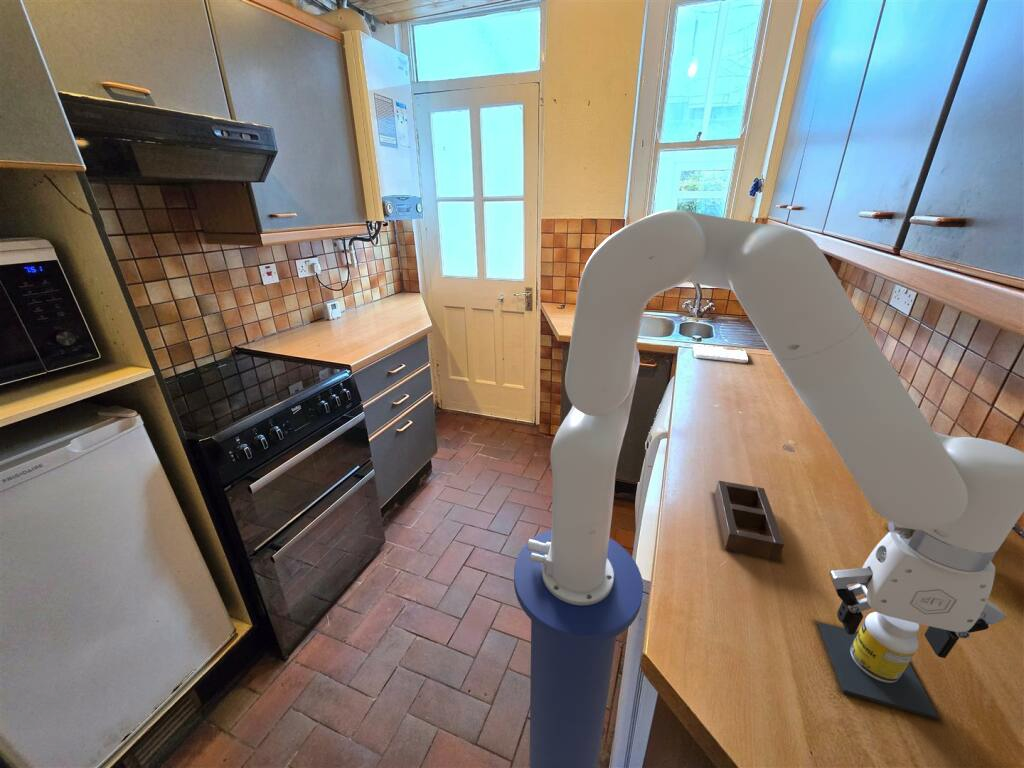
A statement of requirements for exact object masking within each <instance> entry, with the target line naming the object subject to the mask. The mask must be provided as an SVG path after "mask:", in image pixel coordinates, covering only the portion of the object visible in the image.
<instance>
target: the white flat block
mask: <svg viewBox="0 0 1024 768" xmlns="http://www.w3.org/2000/svg"><path fill="white" fill-rule="evenodd" d="M699 345H700V346H701V347H700V346H699ZM698 346H699V347H698ZM709 346H710V347H709ZM713 346H714V345H705V346H704V344H693V356H694V358H697V359H704V360H705V359H706V360H714V361H723V362H734V363H742V364H743V363H744V364H746V363H748V362H749V357H748V354H747V352H746V350H745V349H743V350H744V351H741V350H727V349H724V348H726V347H724V348H723V346H715V347H713Z"/></svg>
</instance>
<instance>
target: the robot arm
mask: <svg viewBox="0 0 1024 768" xmlns="http://www.w3.org/2000/svg"><path fill="white" fill-rule="evenodd" d="M686 282H688V283H693V284H698V285H703V286H707V287H713V288H716V289H717V288H718V289H724V290H729V291H732V292H733V294H734V296H735V298H736V300H737V301H738V302H739V304H740V306H741V307H742V309H743V310H744V312H745V314H746V316H747V317H748V319H749V320H750V322H751V323H752V325H753V327H754V328H755V330H756V331H757V333H758V334H759V335H760V337H761V339H762V341H763V342H764V344H765V345H766V347H767V349H768V350H769V352H770V353H771V355H772V357H773V358H774V360H775V362H776V363H777V365H778V366H779V368H780V369H781V371H782V373H783V375H784V376H785V378H786V379H787V381H788V382H789V385H790V386H791V387H792V389H793V391H794V393H795V394H796V395H797V397H798V398H799V400H800V401H801V403H802V404H803V405H804V406H805V407H806V409H807V410H808V412H809V413H810V414H811V415H812V417H813V418H814V420H816V422H817V424H818V425H819V427H820V428H821V429H822V430H823V432H824V434H825V435H826V436H827V438H828V440H829V441H830V443H831V445H832V447H833V448H834V450H835V451H836V453H837V454H838V456H839V457H840V459H841V461H842V462H843V464H844V465H845V467H846V469H847V470H848V472H849V473H850V475H851V476H852V478H853V479H854V482H855V484H857V486H858V488H859V489H860V491H861V493H862V494H863V496H864V498H865V499H866V501H867V502H868V504H869V506H870V507H871V509H873V511H874V512H875V513H876V514H877V515H878V516H880V517H881V518H882V519H884V520H886V521H888V522H887V530H888V532H887V533H886V535H884V537H882V539H881V540H880V541H879V542H878V543H877V544H876V545H875V547H874V548H873V550H872V551H871V552H870V554H869V555H868V557H867V559H866V560H865V562H864V563H863V565H862V567H859V568H847V569H838V570H831V571H829V577H830V579H831V583H832V585H833V588H834V590H835V592H836V594H837V596H838V597H839V599H841V603H840V605H839V607H838V609H837V612H836V615H837V616H836V617H837V618H838V621H839V622H840V623H841V624H842V626H843V628H844V629H845V631H846V633H847V634H850V635H853V634H855V632H857V630H858V628H859V627H860V624H861V623H862V620H863V618H864V615H863V613H862V612H864V611H868V610H873V611H874V612H878V613H880V614H883V615H886V616H890V617H893V618H898V619H902V620H906V621H910V622H914V623H918V624H920V625H922V626H926V627H927V626H928V627H927V629H926V631H925V632H924V637H925V639H926V640H927V642H928V644H929V645H930V647H931V649H932V651H933V652H934V654H935V655H936V656H937V657H939V658H941V659H946V658H947V656H948V655H949V654H950V652H951V651H952V649H953V648H954V646H955V645H956V644H957V642H958V640H959V639H963V640H964V639H969V638H970V636H971V633H975V632H982V631H986V630H988V629H989V627H990V626H989V625H991V626H993V625H994V624H997V623H999V622H1001V621H1004V620H1005V619H1006V618H1007V616H1006V614H1005V613H1004V612H1003V611H1002V609H1001V608H1000V607H999V606H998V605H996V604H994V603H993V602H991V601H990V600H989V598H990V596H991V593H992V589H993V585H994V582H995V575H996V566H995V564H994V563H993V562H992V560H993V559H994V557H995V556H996V554H997V553H998V550H999V549H1000V548H1001V546H1002V545H1003V543H1004V542H1005V540H1006V539H1007V537H1008V536H1009V534H1010V533H1011V531H1012V529H1013V528H1014V527H1015V525H1016V524H1017V522H1018V521H1019V519H1020V518H1021V516H1022V514H1023V513H1024V451H1022V450H1019V449H1017V448H1014V447H1012V446H1009V445H1006V444H1003V443H1000V442H997V441H993V440H989V439H984V438H979V437H973V436H959V437H958V436H957V437H956V436H952V435H947V434H944V433H940V432H936V431H934V430H933V428H932V426H931V425H930V423H929V422H928V420H927V419H926V417H925V416H924V414H923V412H922V411H921V410H920V408H919V407H918V405H917V404H916V402H915V400H913V398H912V396H911V395H910V393H909V392H908V390H907V389H906V388H905V386H904V384H903V383H902V381H901V379H900V378H899V376H898V374H897V372H896V369H894V366H892V364H891V363H890V361H889V360H888V358H887V356H886V355H885V353H884V352H883V351H882V349H881V348H880V346H879V345H878V343H877V341H876V340H875V338H874V336H873V334H872V333H871V331H870V330H869V328H868V327H867V325H866V323H865V321H864V320H863V318H862V317H861V316H860V313H859V311H858V310H857V308H856V306H855V305H854V303H853V302H852V300H851V298H850V297H849V295H848V293H847V292H846V289H845V288H844V286H843V285H842V283H841V281H840V279H839V278H838V276H837V274H836V273H835V271H834V269H833V267H832V266H831V264H830V263H829V261H828V259H827V257H826V256H825V254H824V252H823V251H822V250H821V248H820V247H819V246H818V244H817V243H816V242H815V241H814V239H812V238H811V237H810V236H809V235H808V234H806V233H804V232H802V231H800V230H797V229H793V228H790V227H786V226H782V225H779V224H770V223H769V224H768V223H762V222H760V223H759V222H753V221H747V220H746V221H745V220H740V219H739V220H738V219H732V218H727V217H721V216H716V215H711V214H709V215H708V214H704V213H699V212H693V211H688V210H681V209H666V210H662V211H658V212H655V213H652V214H650V215H647V216H645V217H643V218H641V219H638V220H636V221H634V222H632V223H630V224H628V225H625V226H624V227H622V228H620V229H619V230H617V231H616V232H614V233H612V234H611V235H609V236H608V237H607V238H606V239H605V240H604V241H603V242H601V243H600V244H599V246H598V247H596V249H595V250H594V251H593V252H592V254H591V255H590V257H589V258H588V260H587V262H586V263H585V266H584V267H583V271H582V273H581V276H580V279H579V284H578V288H577V294H576V301H575V308H574V314H573V315H574V316H573V322H572V328H571V332H570V333H571V335H570V342H569V348H568V349H569V350H568V358H567V363H566V368H565V376H564V387H565V392H566V395H567V398H568V400H569V402H570V404H571V405H572V406H571V408H570V410H569V411H568V413H567V415H566V416H565V417H564V420H563V421H562V423H561V424H560V426H559V428H558V429H557V431H556V434H555V436H554V438H553V441H552V444H551V448H550V455H549V456H550V457H549V458H550V469H551V474H552V502H551V503H552V510H551V511H552V512H551V515H552V516H551V529H552V535H551V542H546V544H545V543H541V542H539V541H536V540H532V538H529V539H528V541H527V542H528V548H527V549H528V550H530V551H534V552H540V553H544V556H542V555H539V554H536V553H532V554H531V559H530V560H531V561H534V562H540V563H542V578H543V581H544V583H545V586H546V587H547V588H548V590H549V591H550V592H551V593H552V594H553V595H554V596H556V597H557V598H558V599H560V600H562V601H564V602H566V603H570V604H573V605H581V606H582V605H591V604H595V603H597V602H599V601H601V600H603V599H604V598H605V597H607V595H608V594H609V593H610V591H611V589H612V587H613V582H614V572H613V568H612V565H611V563H610V562H609V560H608V558H607V553H608V544H609V538H610V534H611V525H612V518H613V508H614V500H615V499H614V498H615V497H614V496H615V485H616V475H617V474H616V473H617V468H618V462H619V458H620V453H621V449H622V446H623V442H624V438H625V434H626V431H627V428H628V424H629V418H630V412H631V409H632V403H633V398H634V395H635V389H636V385H637V379H638V374H639V369H640V363H641V360H640V352H639V349H638V346H637V344H638V338H639V335H640V331H641V327H642V320H643V317H644V311H645V308H646V306H647V305H648V303H649V302H650V301H651V300H652V299H653V298H654V297H655V296H657V295H658V294H660V293H663V292H666V291H668V290H671V289H674V288H677V287H679V286H682V285H683V284H684V283H686ZM848 585H851V586H848ZM861 595H864V598H861V599H858V598H857V597H858V596H861Z"/></svg>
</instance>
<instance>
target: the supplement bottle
mask: <svg viewBox="0 0 1024 768" xmlns="http://www.w3.org/2000/svg"><path fill="white" fill-rule="evenodd" d="M920 630H921V624H918V623H914V622H910V621H906V620H902V619H898V618H893V617H890V616H886V615H883V614H880V613H878V612H876V611H874V612H870V613H868V614H867V615H866V617H865V619H864V620H863V623H862V624H861V626H860V628H859V630H858V631H857V632H858V634H857V636H856V638H855V640H854V642H853V644H852V646H851V650H850V651H851V656H852V658H853V660H854V661H855V663H856V664H857V665H858V666H859V668H860V669H862V670H863V671H864V672H865V673H866V674H868V675H869V676H871V677H873V678H875V679H877V680H879V681H882V682H887V683H892V682H896V681H897V680H898V679H899V678H900V677H901V675H902V673H903V672H904V670H905V669H906V667H907V665H908V664H909V663H910V662H911V661H912V659H913V658H914V656H915V654H916V653H917V651H918V649H919V648H920V647H919V646H920V640H919V637H918V633H919V632H920Z"/></svg>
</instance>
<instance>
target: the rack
mask: <svg viewBox="0 0 1024 768" xmlns="http://www.w3.org/2000/svg"><path fill="white" fill-rule="evenodd" d="M714 498H715V504H716V511H717V516H718V521H719V525H720V531H721V536H722V541H723V547H724V550H726V551H729V552H734V553H739V554H745V555H750V556H754V557H758V558H763V559H768V560H772V561H776V562H779V561H780V558H781V557H782V554H783V550H784V547H785V541H784V540H783V537H782V534H781V530H780V529H779V525H778V524H777V520H776V518H775V517H776V516H775V515H774V512H773V510H772V507H771V504H770V501H769V498H768V496H767V493H766V489H765V488H764V487H759V486H753V485H749V484H748V485H747V484H741V483H735V482H729V481H725V480H717V483H716V487H715V491H714ZM739 504H740V505H739ZM746 505H747V506H746ZM750 506H752V507H750ZM737 527H741V528H746V529H752V530H757V531H760V533H761V534H760V533H757V532H756V533H755V532H750V531H745V530H741V529H738V528H737Z"/></svg>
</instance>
